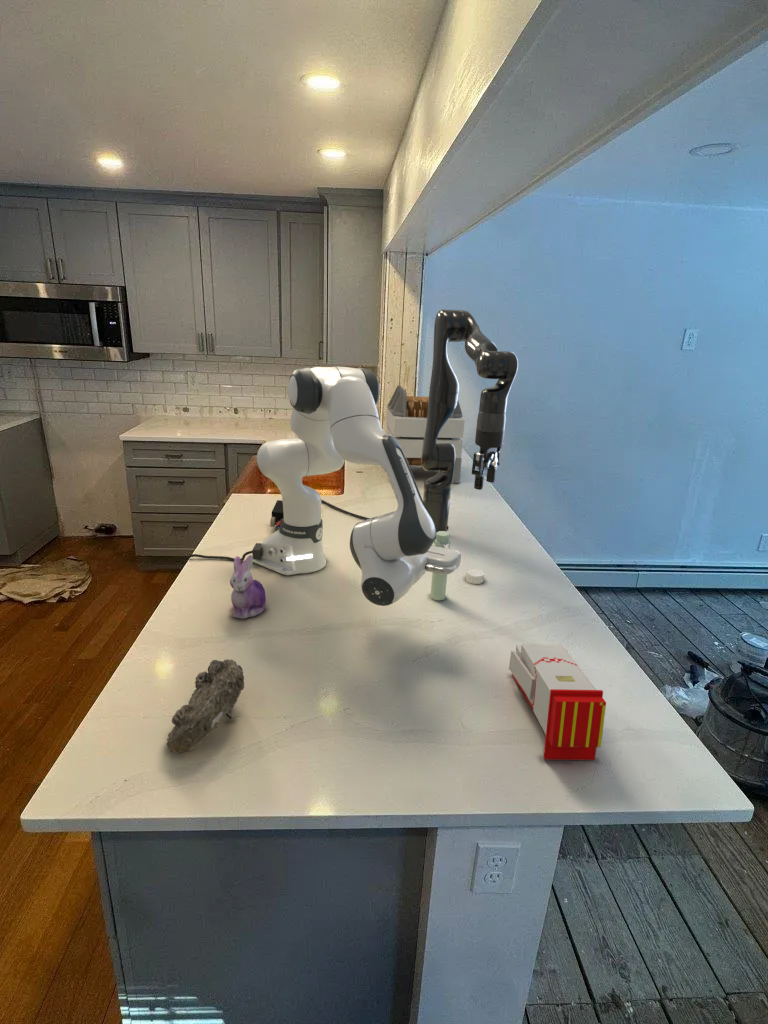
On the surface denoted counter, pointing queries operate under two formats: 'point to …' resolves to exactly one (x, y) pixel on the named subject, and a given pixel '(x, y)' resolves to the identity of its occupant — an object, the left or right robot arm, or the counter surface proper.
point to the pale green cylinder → (437, 579)
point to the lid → (474, 576)
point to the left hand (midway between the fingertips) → (428, 542)
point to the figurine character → (277, 514)
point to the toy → (560, 700)
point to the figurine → (246, 590)
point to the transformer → (421, 427)
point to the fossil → (206, 705)
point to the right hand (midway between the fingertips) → (484, 485)
